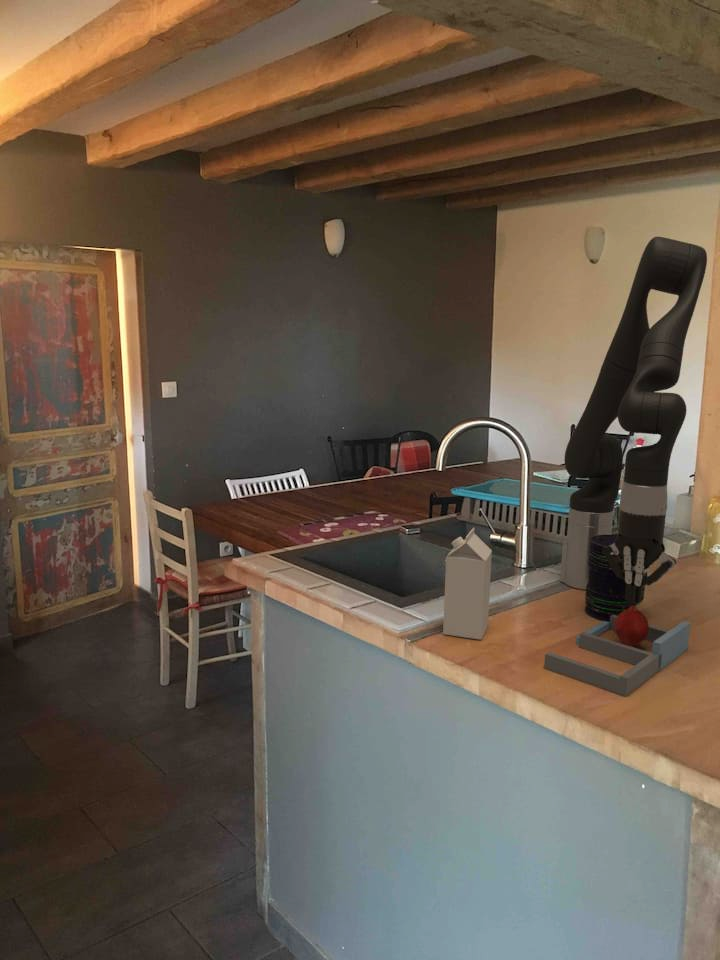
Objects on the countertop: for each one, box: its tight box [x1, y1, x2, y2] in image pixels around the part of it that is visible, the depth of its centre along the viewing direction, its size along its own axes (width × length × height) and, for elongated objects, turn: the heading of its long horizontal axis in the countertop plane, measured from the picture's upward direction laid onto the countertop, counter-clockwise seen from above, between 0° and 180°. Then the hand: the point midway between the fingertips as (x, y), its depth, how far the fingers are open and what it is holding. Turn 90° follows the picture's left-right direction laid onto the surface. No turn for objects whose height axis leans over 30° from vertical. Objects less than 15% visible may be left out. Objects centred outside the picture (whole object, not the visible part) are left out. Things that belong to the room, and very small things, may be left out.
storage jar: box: [584, 534, 632, 623], centre depth 152 cm, size 10×10×15 cm
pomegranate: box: [614, 605, 650, 648], centre depth 136 cm, size 6×6×8 cm
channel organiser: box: [543, 615, 691, 697], centre depth 132 cm, size 15×25×5 cm, turn 137°
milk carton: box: [442, 527, 493, 640], centre depth 141 cm, size 7×7×19 cm
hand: (633, 603), depth 136 cm, fingers closed
